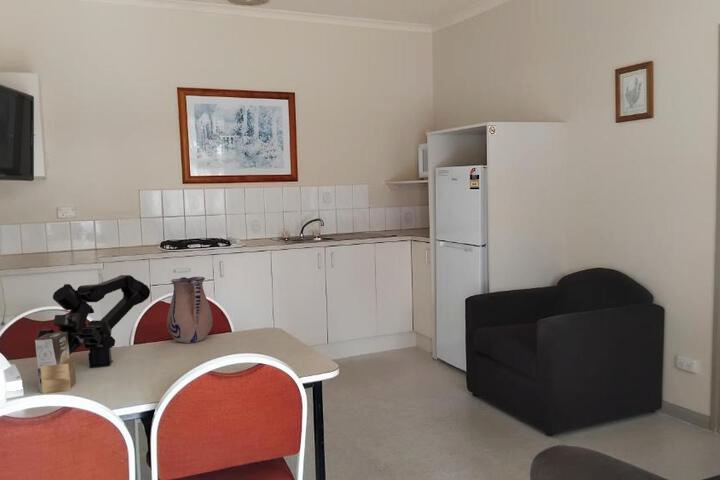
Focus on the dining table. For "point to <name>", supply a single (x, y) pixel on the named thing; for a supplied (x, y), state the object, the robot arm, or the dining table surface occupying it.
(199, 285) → the ceramic pitcher
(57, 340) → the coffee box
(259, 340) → the dining table surface
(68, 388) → the tan wooden block
